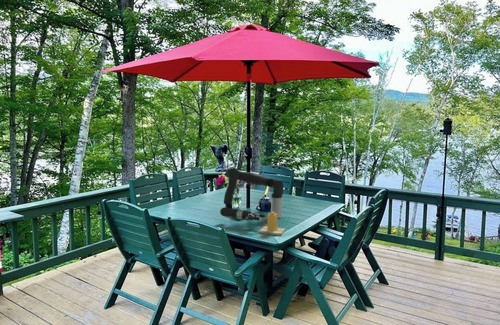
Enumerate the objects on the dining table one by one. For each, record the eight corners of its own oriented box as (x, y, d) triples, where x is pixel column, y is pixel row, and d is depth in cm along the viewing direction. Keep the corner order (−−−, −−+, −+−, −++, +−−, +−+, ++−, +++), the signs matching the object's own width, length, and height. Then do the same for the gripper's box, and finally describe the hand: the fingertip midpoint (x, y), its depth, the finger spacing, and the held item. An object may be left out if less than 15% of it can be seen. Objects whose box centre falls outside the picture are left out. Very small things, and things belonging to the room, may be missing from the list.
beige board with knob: (264, 227, 257) (264, 220, 257) (285, 230, 252) (285, 223, 251) (258, 233, 244) (258, 225, 244) (281, 235, 238) (281, 228, 238)
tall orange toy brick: (267, 230, 247) (267, 212, 245) (270, 228, 252) (270, 211, 250) (274, 231, 244) (274, 213, 243) (277, 229, 249) (277, 212, 247)
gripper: (238, 212, 253) (257, 214, 245) (248, 208, 265) (266, 210, 257) (238, 221, 254) (257, 224, 246) (248, 217, 266) (266, 220, 258)
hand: (262, 217), depth 251 cm, fingers open, 8 cm apart
